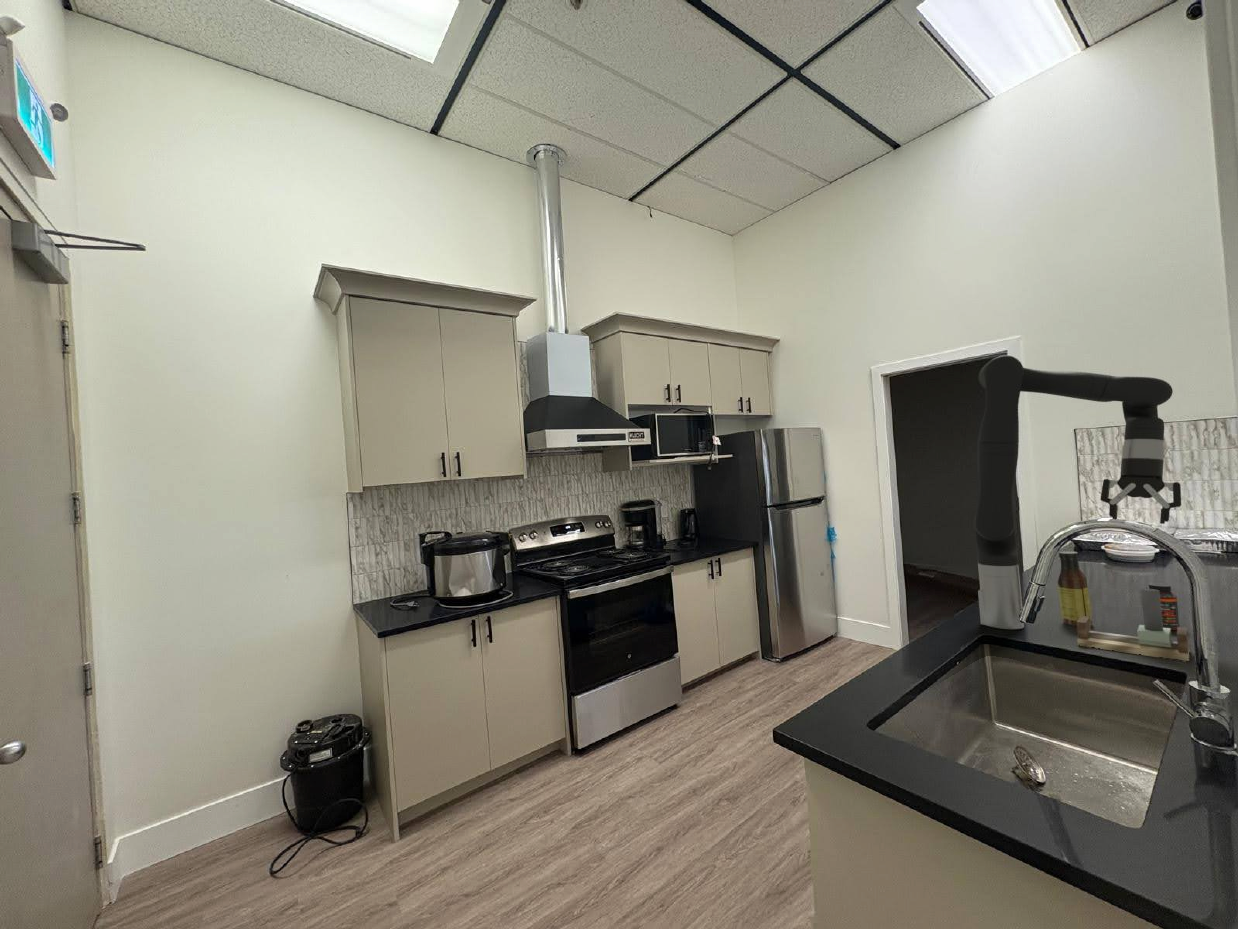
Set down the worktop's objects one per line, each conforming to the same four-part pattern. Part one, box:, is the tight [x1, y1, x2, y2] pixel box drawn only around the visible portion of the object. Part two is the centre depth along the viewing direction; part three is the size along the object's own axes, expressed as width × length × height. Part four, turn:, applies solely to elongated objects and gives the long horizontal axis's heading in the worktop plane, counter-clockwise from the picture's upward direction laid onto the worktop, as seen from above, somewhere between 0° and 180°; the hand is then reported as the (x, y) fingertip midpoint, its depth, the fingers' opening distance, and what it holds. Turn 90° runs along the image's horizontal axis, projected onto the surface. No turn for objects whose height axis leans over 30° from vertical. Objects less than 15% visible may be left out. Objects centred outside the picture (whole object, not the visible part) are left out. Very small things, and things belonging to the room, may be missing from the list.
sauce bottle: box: [1057, 550, 1093, 627], centre depth 141 cm, size 7×6×20 cm
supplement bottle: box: [1148, 582, 1181, 631], centre depth 134 cm, size 6×6×11 cm
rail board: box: [1076, 616, 1191, 662], centre depth 120 cm, size 18×9×6 cm, turn 41°
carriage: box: [1136, 588, 1172, 648], centre depth 117 cm, size 5×6×12 cm
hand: (1138, 521), depth 130 cm, fingers open, 8 cm apart
